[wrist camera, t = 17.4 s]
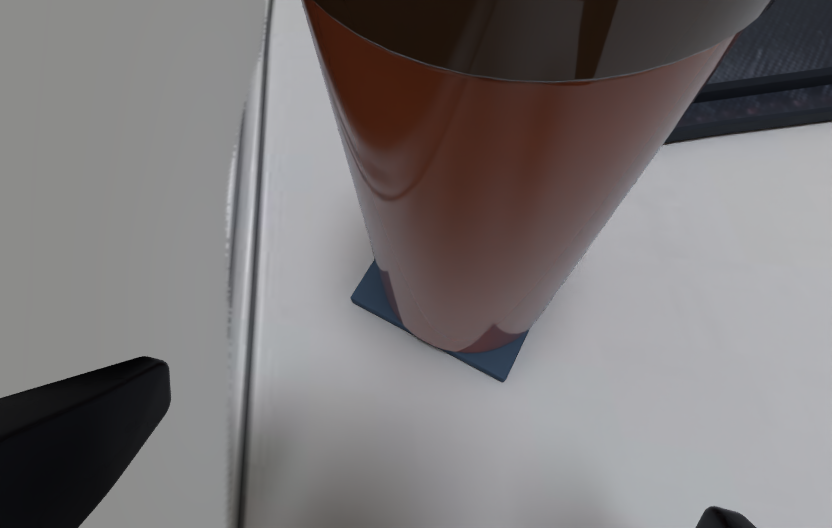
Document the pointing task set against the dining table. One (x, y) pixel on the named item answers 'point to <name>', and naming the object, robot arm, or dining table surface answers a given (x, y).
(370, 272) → the mat
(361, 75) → the spice jar
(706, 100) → the wallet
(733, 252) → the dining table surface
